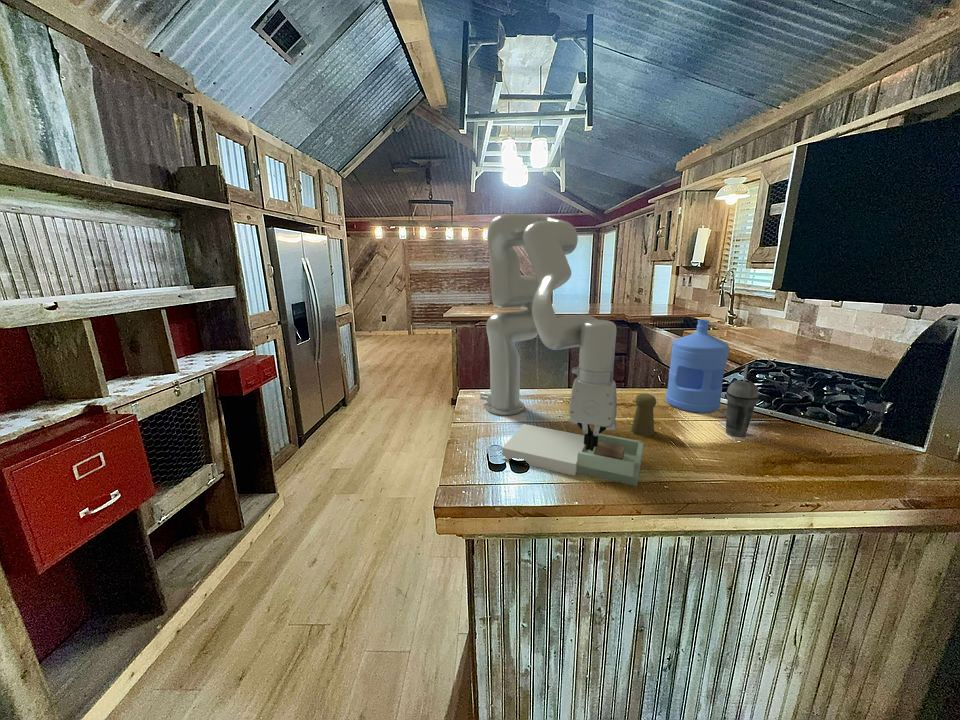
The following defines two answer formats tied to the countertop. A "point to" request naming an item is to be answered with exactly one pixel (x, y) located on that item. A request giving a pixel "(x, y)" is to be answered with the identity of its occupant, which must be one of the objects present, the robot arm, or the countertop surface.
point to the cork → (644, 415)
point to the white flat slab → (545, 448)
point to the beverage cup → (740, 406)
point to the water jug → (697, 371)
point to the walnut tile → (609, 450)
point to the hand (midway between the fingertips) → (590, 447)
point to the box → (613, 461)
